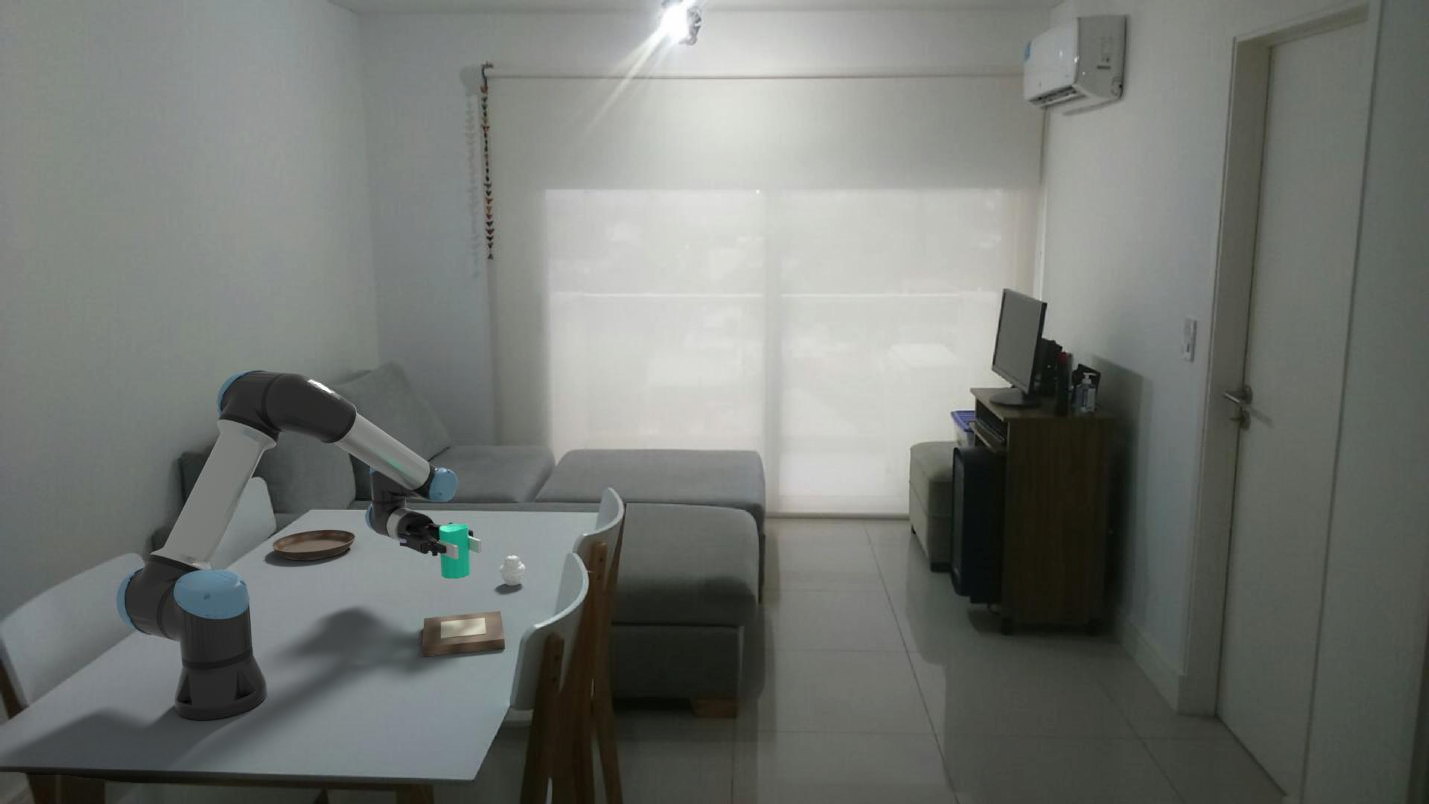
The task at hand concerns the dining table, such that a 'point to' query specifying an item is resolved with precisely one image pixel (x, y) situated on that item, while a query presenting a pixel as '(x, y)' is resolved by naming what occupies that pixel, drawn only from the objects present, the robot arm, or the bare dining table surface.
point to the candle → (460, 538)
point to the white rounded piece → (512, 570)
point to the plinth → (463, 633)
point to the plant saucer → (313, 544)
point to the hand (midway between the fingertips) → (468, 549)
